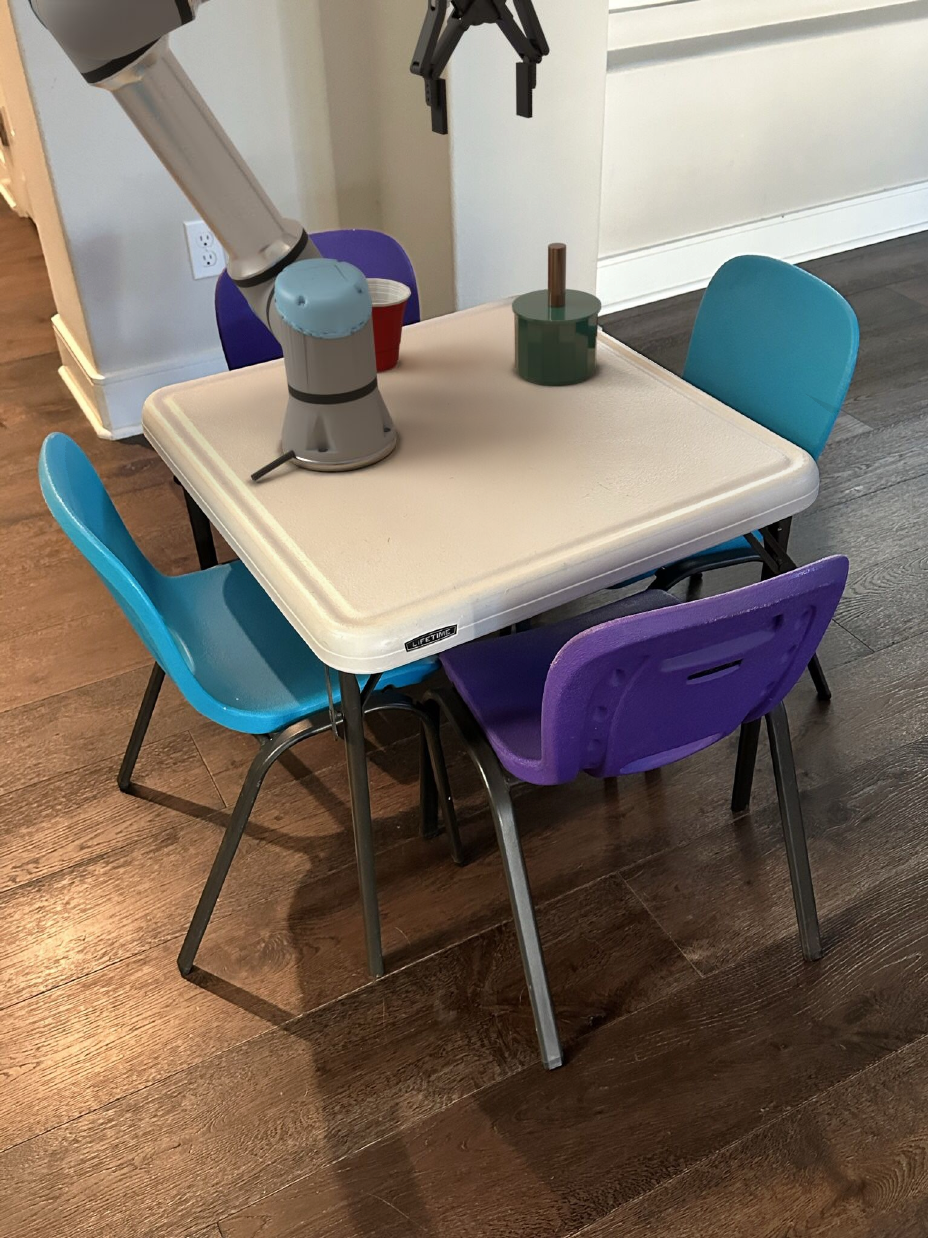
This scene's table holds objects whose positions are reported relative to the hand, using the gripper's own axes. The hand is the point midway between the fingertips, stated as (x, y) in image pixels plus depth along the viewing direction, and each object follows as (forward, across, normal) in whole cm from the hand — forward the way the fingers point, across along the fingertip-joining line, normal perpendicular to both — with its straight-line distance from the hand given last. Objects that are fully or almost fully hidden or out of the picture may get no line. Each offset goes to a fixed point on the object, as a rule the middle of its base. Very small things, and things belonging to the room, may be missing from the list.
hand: (482, 124), depth 150 cm
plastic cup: (+35, +12, -12) cm, 39 cm away
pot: (+35, -8, +6) cm, 36 cm away
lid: (+25, -8, +6) cm, 27 cm away
